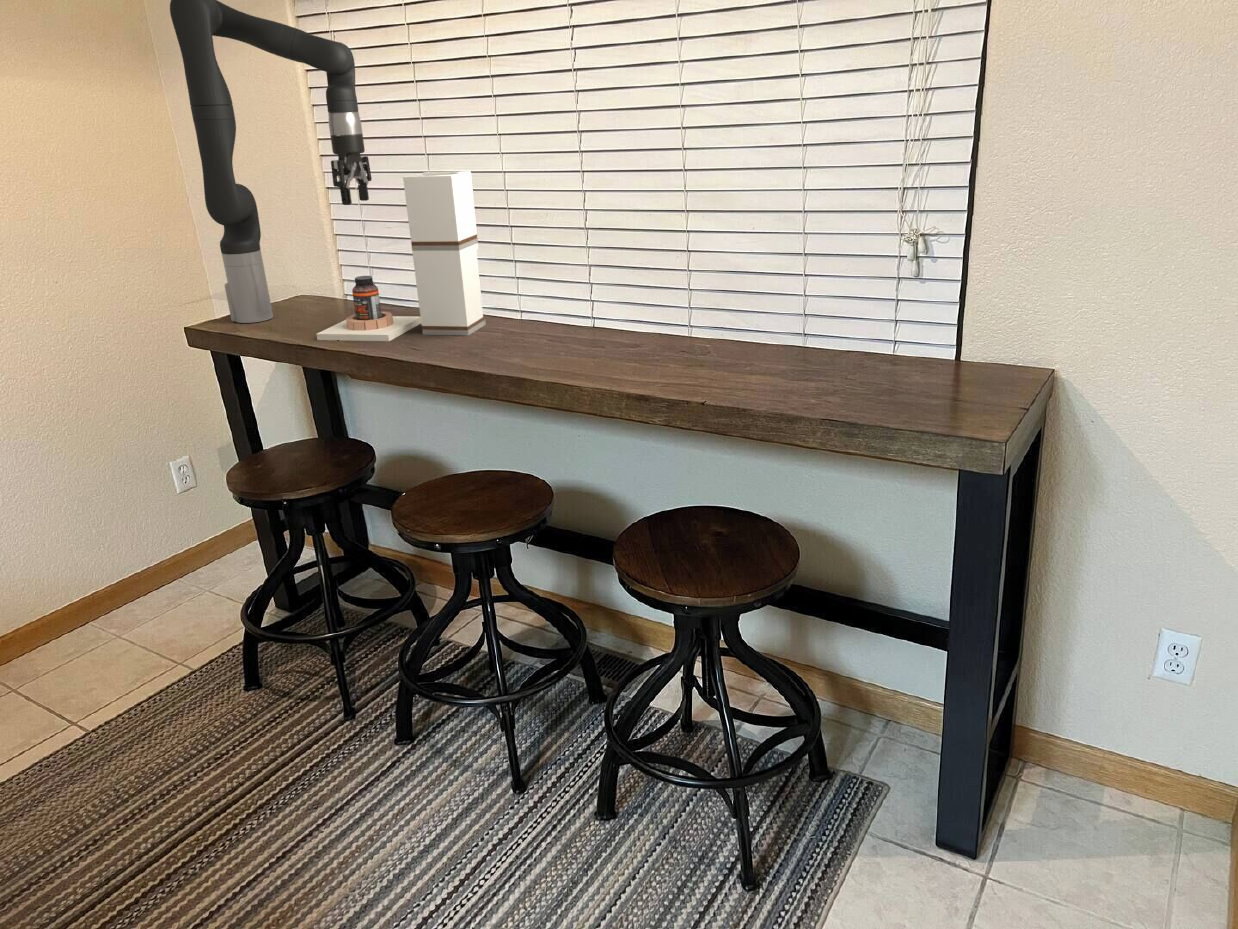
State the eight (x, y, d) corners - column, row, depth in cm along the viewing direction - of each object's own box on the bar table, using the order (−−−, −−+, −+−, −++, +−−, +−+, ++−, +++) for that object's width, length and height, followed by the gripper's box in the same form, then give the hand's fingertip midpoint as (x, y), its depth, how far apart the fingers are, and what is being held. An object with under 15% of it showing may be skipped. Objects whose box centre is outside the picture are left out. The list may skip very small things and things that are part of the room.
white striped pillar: (485, 324, 219) (470, 171, 206) (468, 335, 209) (451, 175, 196) (441, 323, 222) (424, 172, 208) (422, 334, 212) (402, 176, 199)
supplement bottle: (352, 327, 215) (344, 279, 211) (365, 321, 220) (358, 274, 216) (374, 328, 213) (367, 279, 209) (387, 322, 218) (381, 274, 214)
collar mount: (317, 340, 211) (314, 325, 210) (355, 321, 227) (353, 307, 226) (388, 341, 207) (386, 326, 206) (422, 322, 223) (420, 308, 222)
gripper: (347, 131, 227) (356, 199, 233) (316, 134, 214) (327, 206, 220) (374, 130, 225) (383, 199, 231) (345, 133, 212) (355, 205, 218)
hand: (355, 202), depth 226 cm, fingers open, 8 cm apart
